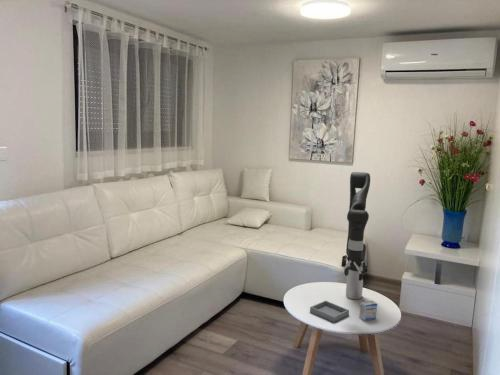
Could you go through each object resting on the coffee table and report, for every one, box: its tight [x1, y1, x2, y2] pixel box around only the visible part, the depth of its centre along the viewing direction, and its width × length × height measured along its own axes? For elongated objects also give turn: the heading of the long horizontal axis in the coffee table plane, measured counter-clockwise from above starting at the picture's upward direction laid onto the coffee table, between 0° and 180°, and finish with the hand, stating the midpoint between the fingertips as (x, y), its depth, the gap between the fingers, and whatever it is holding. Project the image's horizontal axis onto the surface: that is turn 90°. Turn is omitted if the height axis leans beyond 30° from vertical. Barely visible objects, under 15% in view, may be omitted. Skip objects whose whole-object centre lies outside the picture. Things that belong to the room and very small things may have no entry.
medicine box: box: [358, 300, 378, 322], centre depth 213 cm, size 8×4×9 cm, turn 114°
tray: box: [309, 300, 350, 324], centre depth 216 cm, size 14×16×3 cm
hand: (353, 277), depth 210 cm, fingers open, 8 cm apart
